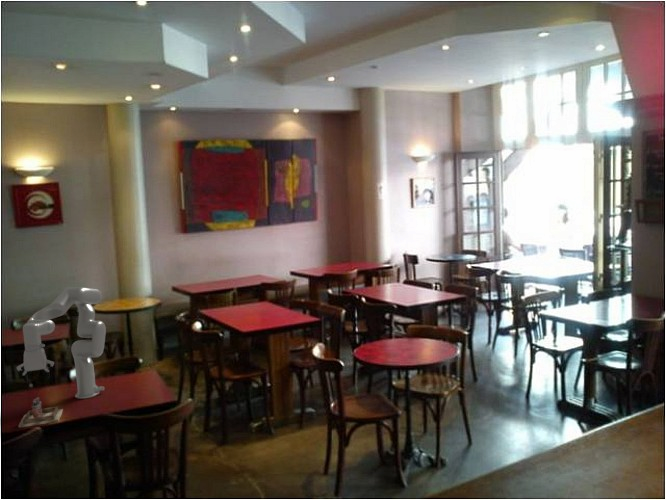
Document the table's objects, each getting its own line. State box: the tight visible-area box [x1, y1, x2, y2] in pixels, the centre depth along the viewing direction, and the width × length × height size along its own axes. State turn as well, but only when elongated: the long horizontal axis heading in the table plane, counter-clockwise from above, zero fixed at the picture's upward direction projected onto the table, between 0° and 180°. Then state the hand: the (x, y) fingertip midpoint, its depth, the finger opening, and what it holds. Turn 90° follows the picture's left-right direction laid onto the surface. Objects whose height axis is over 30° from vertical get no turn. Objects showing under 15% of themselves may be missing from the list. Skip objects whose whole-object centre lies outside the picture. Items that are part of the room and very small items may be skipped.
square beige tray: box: [18, 406, 64, 429], centre depth 308 cm, size 18×16×3 cm
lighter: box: [31, 397, 43, 418], centre depth 305 cm, size 8×3×10 cm, turn 9°
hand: (37, 380), depth 306 cm, fingers open, 9 cm apart
